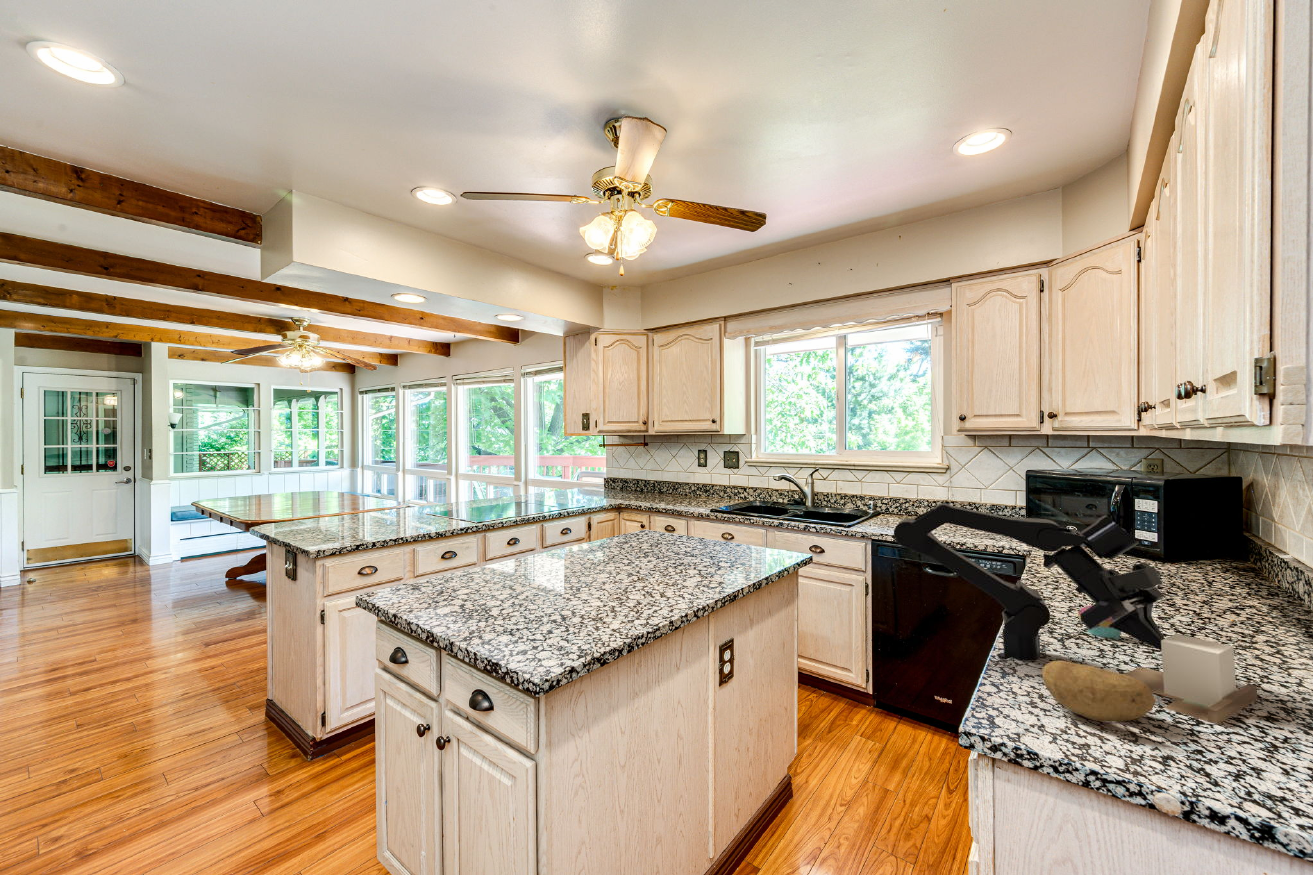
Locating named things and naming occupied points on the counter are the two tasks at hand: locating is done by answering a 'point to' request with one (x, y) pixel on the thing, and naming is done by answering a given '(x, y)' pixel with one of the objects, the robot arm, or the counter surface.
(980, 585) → the robot arm
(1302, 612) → the counter surface
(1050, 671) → the potato
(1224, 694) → the block
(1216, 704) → the lane board
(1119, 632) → the cupcake
